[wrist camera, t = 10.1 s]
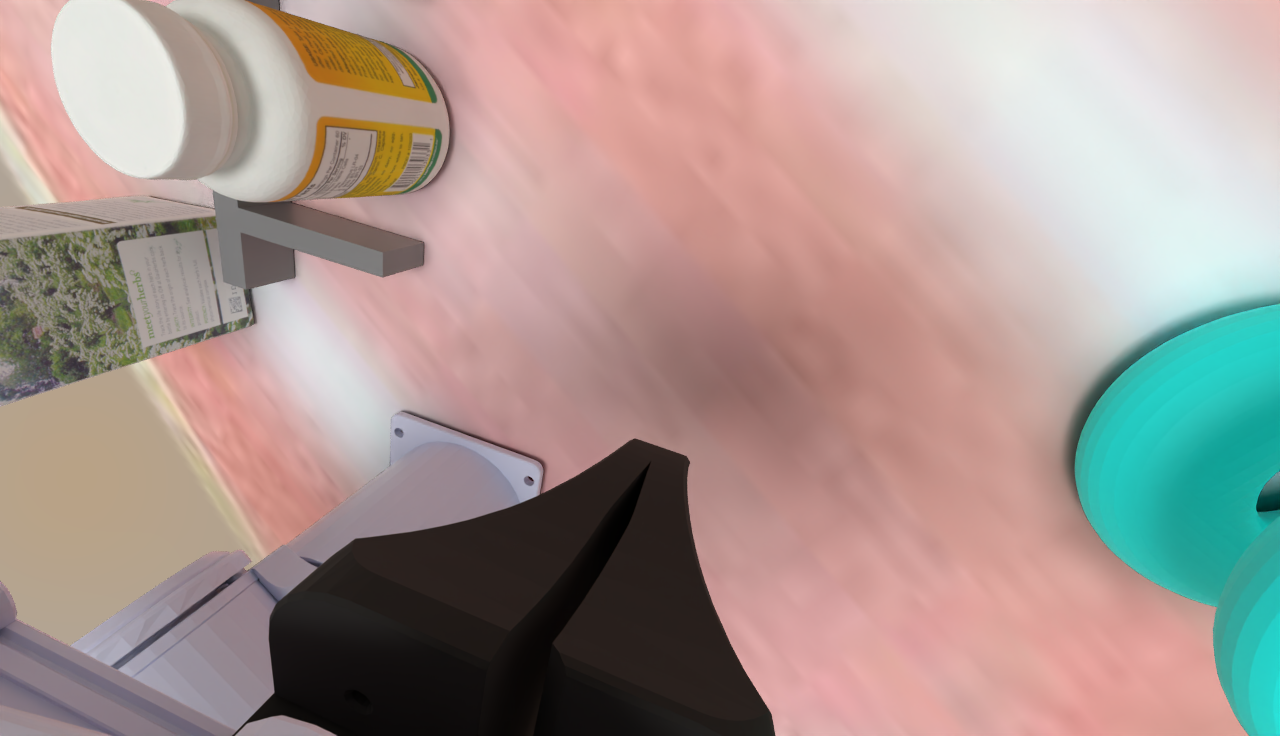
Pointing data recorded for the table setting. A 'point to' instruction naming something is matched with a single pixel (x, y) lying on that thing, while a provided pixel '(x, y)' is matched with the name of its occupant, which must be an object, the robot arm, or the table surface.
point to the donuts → (1200, 490)
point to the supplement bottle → (247, 100)
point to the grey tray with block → (301, 238)
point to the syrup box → (107, 288)
